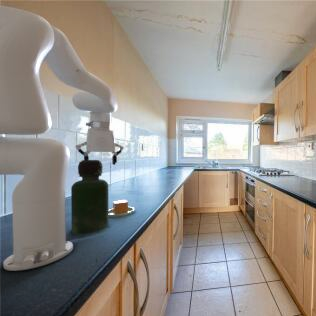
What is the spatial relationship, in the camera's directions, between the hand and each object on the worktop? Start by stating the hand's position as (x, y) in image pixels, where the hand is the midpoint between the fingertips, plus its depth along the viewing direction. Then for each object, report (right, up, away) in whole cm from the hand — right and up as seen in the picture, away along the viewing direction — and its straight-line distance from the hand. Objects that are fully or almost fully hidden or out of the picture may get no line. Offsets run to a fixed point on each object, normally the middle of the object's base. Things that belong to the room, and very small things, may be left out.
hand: (101, 164), depth 82 cm
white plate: (+8, -22, +1) cm, 24 cm away
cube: (+8, -22, +1) cm, 23 cm away
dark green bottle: (+8, -23, -16) cm, 29 cm away
